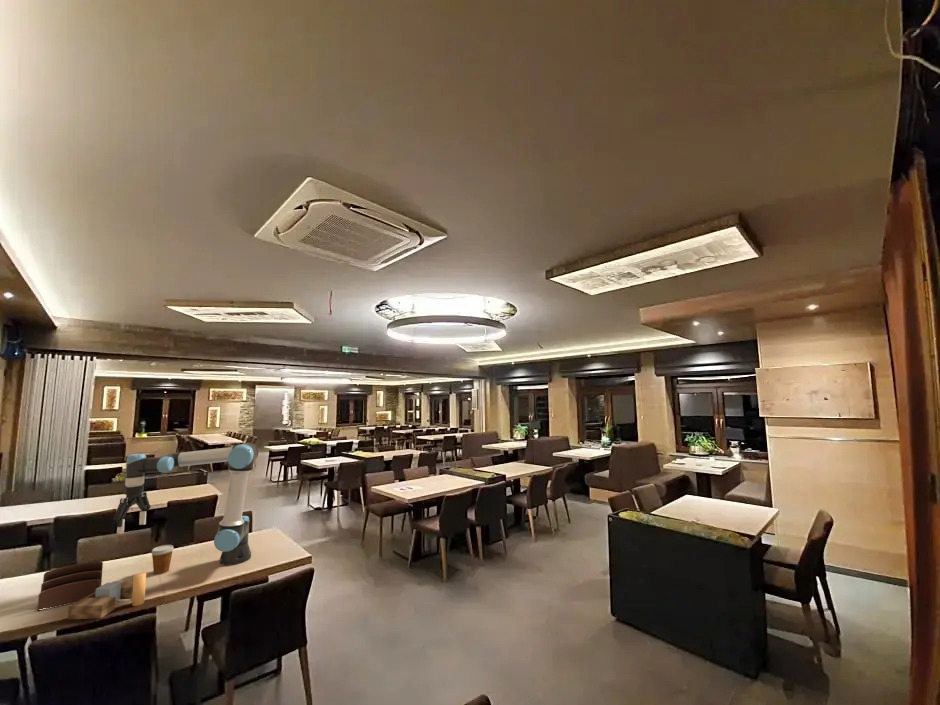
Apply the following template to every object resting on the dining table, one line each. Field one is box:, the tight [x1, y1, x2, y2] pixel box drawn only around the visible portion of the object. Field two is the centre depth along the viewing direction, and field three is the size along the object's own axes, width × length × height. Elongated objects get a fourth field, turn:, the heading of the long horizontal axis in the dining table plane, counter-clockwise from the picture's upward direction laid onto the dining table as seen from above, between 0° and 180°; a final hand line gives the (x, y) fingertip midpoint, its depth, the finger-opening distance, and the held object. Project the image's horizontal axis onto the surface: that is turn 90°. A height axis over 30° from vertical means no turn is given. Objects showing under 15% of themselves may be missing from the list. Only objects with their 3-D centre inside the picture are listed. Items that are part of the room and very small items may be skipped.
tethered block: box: [95, 572, 147, 607], centre depth 179 cm, size 18×6×12 cm, turn 93°
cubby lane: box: [67, 580, 133, 620], centre depth 179 cm, size 13×22×5 cm, turn 3°
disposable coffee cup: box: [150, 544, 175, 575], centre depth 212 cm, size 10×10×12 cm
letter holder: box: [36, 560, 104, 610], centre depth 184 cm, size 10×20×14 cm, turn 129°
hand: (131, 528), depth 204 cm, fingers open, 13 cm apart
